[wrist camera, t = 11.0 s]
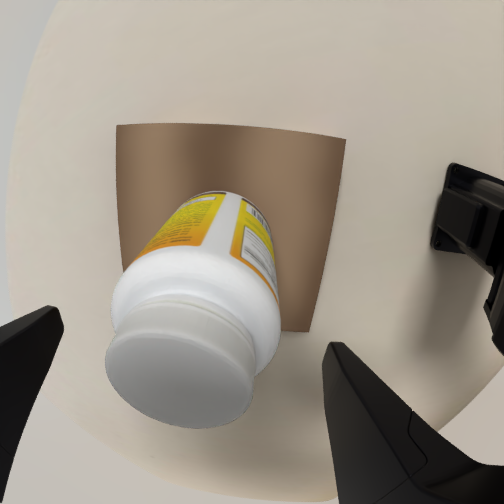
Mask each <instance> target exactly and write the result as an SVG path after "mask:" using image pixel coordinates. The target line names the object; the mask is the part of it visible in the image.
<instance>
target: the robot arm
mask: <svg viewBox="0 0 504 504" xmlns="http://www.w3.org/2000/svg"><path fill="white" fill-rule="evenodd" d="M454 168H456V171H455V173H454ZM437 241H439V242H438V244H437V245H436V243H437ZM431 246H432V247H433V248H434V249H435V250H440V251H447V252H455V253H462V254H467V255H468V256H469V257H471V258H472V259H473V260H474V261H475V262H477V263H478V264H479V265H480V266H481V267H482V268H484V269H485V270H486V271H487V272H488V273H489V274H490V275H492V276H493V277H494V280H493V283H492V286H491V290H490V293H489V296H488V299H486V301H485V304H484V307H483V308H484V310H485V313H486V315H487V318H488V320H489V323H490V326H491V329H492V332H493V335H492V341H493V343H494V345H495V346H496V347H497V349H498V350H499V352H500V353H501V354H502V355H503V356H504V181H503V180H500V179H498V178H495V177H493V176H490V175H488V174H485V173H482V172H480V171H477V170H474V169H471V168H469V167H466V166H463V165H460V164H457V163H451V164H450V165H449V167H448V172H447V177H446V182H445V187H444V191H443V195H442V200H441V204H440V208H439V212H438V216H437V220H436V225H435V229H434V233H433V236H432V240H431ZM63 332H64V325H63V322H62V319H61V315H60V312H59V310H58V308H57V307H54V306H50V305H47V306H45V307H42V308H40V309H38V310H36V311H34V312H31V313H29V314H27V315H25V316H23V317H20V318H18V319H16V320H14V321H12V322H10V323H8V324H5V325H3V326H1V327H0V503H2V501H3V496H4V493H5V489H6V485H7V481H8V477H9V474H10V470H11V467H12V463H13V460H14V456H15V453H16V450H17V447H18V444H19V441H20V439H21V436H22V433H23V430H24V428H25V425H26V422H27V420H28V417H29V415H30V412H31V409H32V407H33V405H34V402H35V400H36V398H37V395H38V393H39V391H40V388H41V386H42V384H43V382H44V380H45V377H46V375H47V373H48V371H49V369H50V366H51V364H52V361H53V358H54V356H55V353H56V350H57V348H58V345H59V343H60V340H61V338H62V335H63ZM322 374H323V391H324V408H325V415H326V421H327V427H328V433H329V439H330V445H331V451H332V457H333V464H334V471H335V477H336V484H337V491H338V499H339V504H504V466H498V465H486V464H482V463H479V462H477V461H475V460H473V459H471V458H470V457H468V456H467V455H466V454H464V453H463V452H462V451H460V450H459V449H458V448H457V447H455V446H454V445H452V444H451V443H450V442H449V441H448V440H446V439H445V438H444V437H442V436H441V435H440V434H439V433H438V432H436V431H435V430H434V429H433V428H432V427H430V426H429V425H428V424H427V423H426V422H425V421H424V420H423V419H422V418H421V417H420V416H419V415H418V414H416V413H415V412H414V411H412V409H411V408H410V407H409V406H408V405H407V404H406V403H405V402H404V401H403V400H402V399H401V398H400V397H399V396H398V395H397V394H396V393H395V392H394V391H393V390H392V389H391V388H390V387H388V386H387V385H386V384H385V383H384V382H383V381H382V380H381V379H380V378H379V377H378V376H377V375H376V374H375V373H374V372H373V371H372V370H371V369H370V368H369V367H368V366H367V365H366V364H365V363H364V362H363V361H362V360H361V359H360V358H359V357H358V356H357V355H355V354H354V353H353V352H352V351H351V350H350V349H349V348H348V347H347V346H346V345H345V344H344V343H343V342H330V343H329V344H328V347H327V350H326V353H325V356H324V359H323V362H322Z"/></svg>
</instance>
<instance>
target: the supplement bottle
mask: <svg viewBox="0 0 504 504" xmlns="http://www.w3.org/2000/svg"><path fill="white" fill-rule="evenodd" d="M111 318H112V324H113V328H114V330H115V333H116V335H115V337H114V338H113V340H112V342H111V344H110V346H109V348H108V350H107V353H106V357H105V368H106V373H107V376H108V378H109V380H110V382H111V384H112V386H113V387H114V389H115V390H116V391H117V392H118V394H119V395H120V396H121V397H122V398H123V399H124V400H125V401H126V402H128V403H129V404H130V405H131V406H132V407H134V408H135V409H137V410H138V411H140V412H141V413H143V414H145V415H147V416H149V417H151V418H153V419H156V420H158V421H161V422H164V423H167V424H170V425H174V426H179V427H185V428H197V429H198V428H211V427H218V426H221V425H225V424H227V423H230V422H232V421H234V420H235V419H237V418H239V417H240V416H241V415H242V414H243V413H244V412H245V411H246V410H247V408H248V407H249V405H250V403H251V401H252V397H253V387H254V377H255V376H256V375H258V374H259V373H260V372H261V371H262V370H263V369H264V368H265V367H266V366H267V365H268V364H269V362H270V361H271V359H272V358H273V356H274V354H275V352H276V350H277V347H278V344H279V340H280V334H281V317H280V307H279V297H278V288H277V278H276V269H275V260H274V251H273V241H272V235H271V231H270V227H269V224H268V222H267V220H266V218H265V217H264V215H263V214H262V212H261V211H260V210H259V209H258V208H257V207H256V206H255V205H254V204H253V203H252V202H250V201H249V200H247V199H246V198H244V197H242V196H240V195H237V194H234V193H231V192H225V191H210V192H205V193H202V194H199V195H196V196H194V197H192V198H190V199H189V200H187V201H186V202H185V203H184V204H182V205H181V206H180V207H179V208H178V209H177V211H176V212H175V213H174V214H173V215H172V216H171V217H170V218H169V220H168V221H167V222H166V223H165V224H164V225H163V226H162V228H161V229H160V230H159V231H158V232H157V233H156V235H155V236H154V237H153V238H152V239H151V240H150V242H149V243H148V244H147V245H146V246H145V248H144V249H143V250H142V251H141V252H140V254H139V255H138V256H137V257H136V258H135V260H134V261H133V262H132V263H131V264H130V265H129V267H128V268H127V269H126V271H125V272H124V273H123V275H122V276H121V278H120V279H119V281H118V283H117V285H116V287H115V290H114V293H113V296H112V301H111Z"/></svg>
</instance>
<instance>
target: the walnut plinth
mask: <svg viewBox="0 0 504 504" xmlns="http://www.w3.org/2000/svg"><path fill="white" fill-rule="evenodd" d="M345 144H346V139H342V138H336V137H331V136H325V135H318V134H312V133H305V132H297V131H289V130H281V129H272V128H262V127H250V126H237V125H220V124H190V123H156V124H128V125H117V127H116V188H117V209H118V224H119V237H120V247H121V257H122V265H123V273H124V272H125V271H126V269H127V268H128V267H129V265H130V264H131V263H132V262H133V261H134V260H135V258H136V257H137V256H138V255H139V254H140V252H141V251H142V250H143V249H144V248H145V246H146V245H147V244H148V243H149V242H150V240H151V239H152V238H153V237H154V236H155V235H156V233H157V232H158V231H159V230H160V229H161V228H162V226H163V225H164V224H165V223H166V222H167V221H168V220H169V218H170V217H171V216H172V215H173V214H174V213H175V212H176V211H177V209H178V208H179V207H180V206H181V205H182V204H184V203H185V202H186V201H187V200H189V199H190V198H192V197H194V196H196V195H199V194H202V193H205V192H210V191H225V192H231V193H234V194H237V195H240V196H242V197H244V198H246V199H247V200H249V201H250V202H252V203H253V204H254V205H255V206H256V207H257V208H258V209H259V210H260V211H261V212H262V214H263V215H264V217H265V218H266V220H267V222H268V224H269V227H270V231H271V235H272V241H273V251H274V260H275V269H276V278H277V288H278V297H279V307H280V317H281V331H294V332H309V329H310V325H311V321H312V317H313V313H314V309H315V305H316V301H317V297H318V292H319V288H320V284H321V279H322V275H323V270H324V265H325V261H326V256H327V251H328V246H329V241H330V236H331V231H332V225H333V220H334V215H335V209H336V203H337V197H338V191H339V185H340V179H341V172H342V165H343V159H344V151H345Z"/></svg>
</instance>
